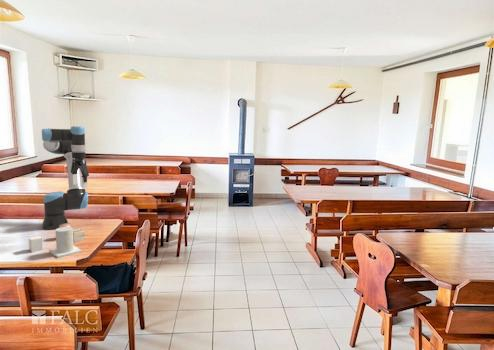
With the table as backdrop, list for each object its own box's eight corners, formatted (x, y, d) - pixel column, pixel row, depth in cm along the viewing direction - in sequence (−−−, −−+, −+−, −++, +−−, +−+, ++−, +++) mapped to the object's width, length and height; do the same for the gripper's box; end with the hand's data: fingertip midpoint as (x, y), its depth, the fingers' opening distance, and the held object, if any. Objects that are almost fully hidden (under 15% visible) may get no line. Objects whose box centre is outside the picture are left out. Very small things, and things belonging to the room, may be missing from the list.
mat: (49, 251, 174) (49, 250, 174) (72, 246, 183) (72, 244, 183) (57, 258, 167) (57, 256, 166) (81, 251, 176) (81, 250, 176)
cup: (66, 253, 170) (65, 232, 168) (53, 252, 172) (51, 230, 170) (77, 248, 178) (76, 227, 176) (64, 246, 180) (63, 226, 178)
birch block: (70, 240, 193) (69, 230, 192) (80, 238, 197) (80, 228, 196) (74, 243, 189) (74, 233, 188) (84, 240, 193) (84, 231, 192)
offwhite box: (29, 250, 176) (28, 237, 175) (39, 247, 180) (38, 235, 179) (32, 252, 173) (31, 240, 172) (42, 250, 177) (41, 238, 176)
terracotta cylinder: (57, 238, 194) (57, 226, 193) (64, 235, 200) (63, 222, 199) (67, 239, 194) (66, 227, 192) (73, 235, 200) (72, 223, 198)
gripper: (63, 150, 200) (65, 183, 203) (81, 153, 184) (82, 189, 187) (76, 150, 206) (77, 182, 209) (94, 153, 190) (95, 188, 193)
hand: (80, 185), depth 198 cm, fingers open, 13 cm apart
